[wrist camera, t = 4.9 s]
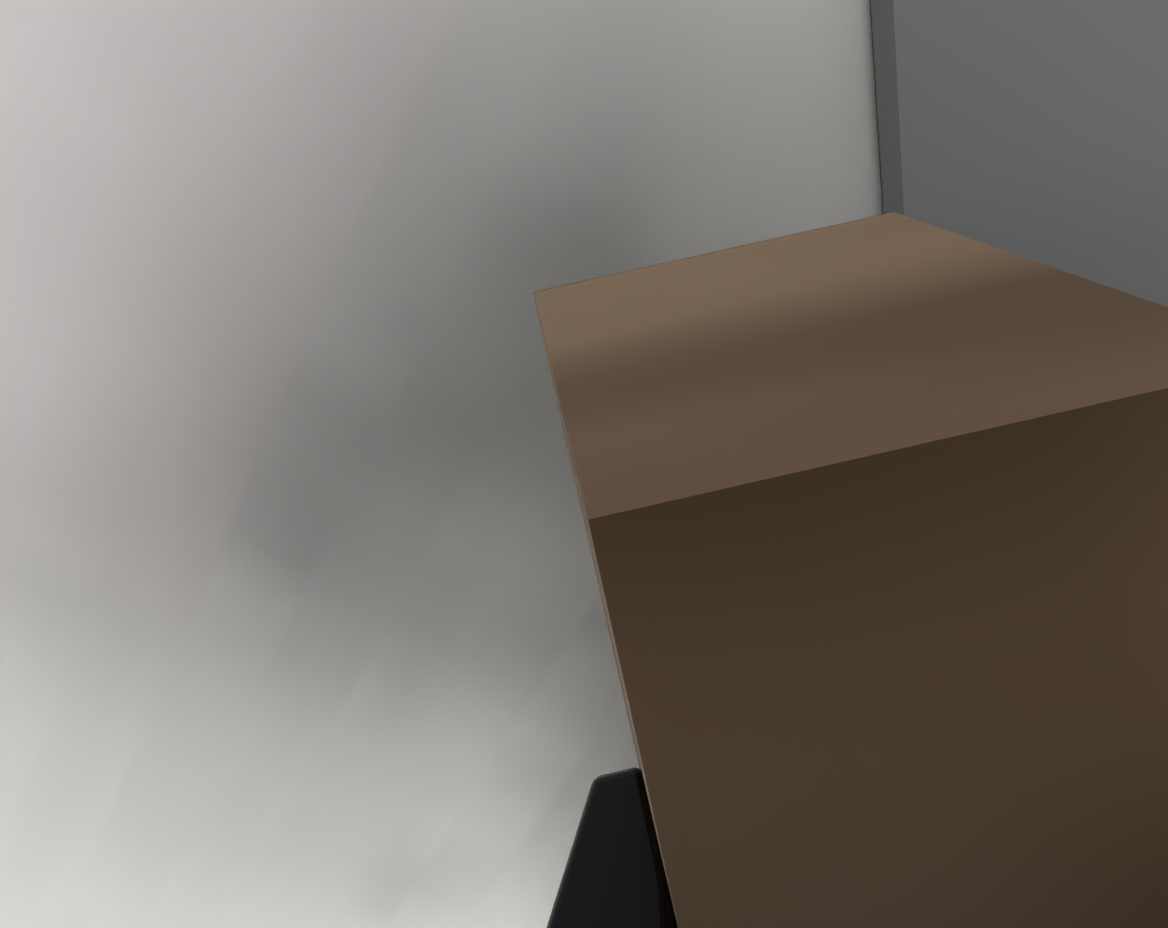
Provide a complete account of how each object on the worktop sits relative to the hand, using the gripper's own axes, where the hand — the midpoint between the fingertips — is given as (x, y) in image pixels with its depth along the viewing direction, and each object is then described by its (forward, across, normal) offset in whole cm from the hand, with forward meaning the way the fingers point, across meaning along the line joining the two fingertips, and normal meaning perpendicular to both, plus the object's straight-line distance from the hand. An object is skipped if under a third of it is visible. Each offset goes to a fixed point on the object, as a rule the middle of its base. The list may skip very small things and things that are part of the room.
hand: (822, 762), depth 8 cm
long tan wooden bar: (+2, 0, +5) cm, 6 cm away
